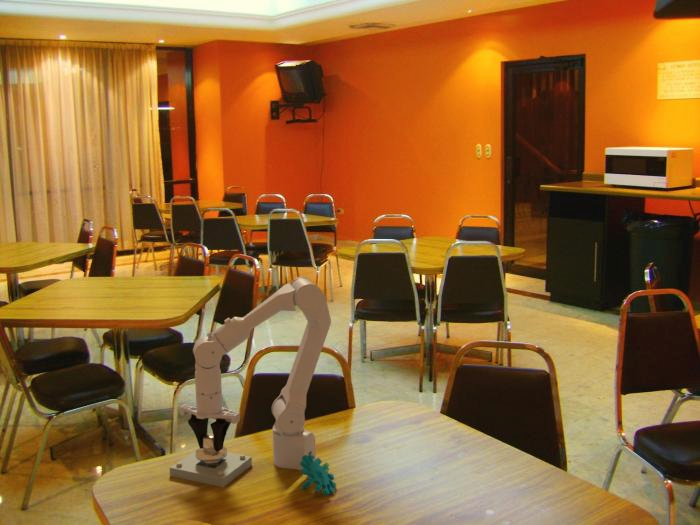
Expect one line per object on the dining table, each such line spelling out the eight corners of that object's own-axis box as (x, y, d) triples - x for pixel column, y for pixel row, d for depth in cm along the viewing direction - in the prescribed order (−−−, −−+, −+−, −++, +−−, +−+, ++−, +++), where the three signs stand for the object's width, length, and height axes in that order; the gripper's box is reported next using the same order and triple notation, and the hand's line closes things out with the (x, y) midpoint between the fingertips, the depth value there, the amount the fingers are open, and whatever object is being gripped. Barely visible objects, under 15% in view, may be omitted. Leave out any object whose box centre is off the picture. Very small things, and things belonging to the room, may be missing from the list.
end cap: (233, 459, 174) (232, 433, 173) (216, 472, 168) (215, 444, 166) (207, 454, 177) (206, 428, 176) (189, 467, 170) (188, 439, 169)
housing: (252, 468, 175) (251, 454, 175) (223, 491, 164) (223, 476, 164) (201, 458, 181) (200, 444, 180) (170, 480, 170) (169, 465, 169)
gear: (327, 497, 158) (297, 459, 160) (308, 514, 160) (278, 476, 162) (345, 481, 168) (317, 446, 171) (327, 497, 170) (299, 461, 172)
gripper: (170, 392, 168) (173, 450, 171) (226, 401, 163) (229, 460, 165) (189, 382, 175) (192, 438, 177) (244, 390, 169) (245, 448, 171)
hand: (211, 448), depth 171 cm, fingers closed on end cap, 4 cm apart
